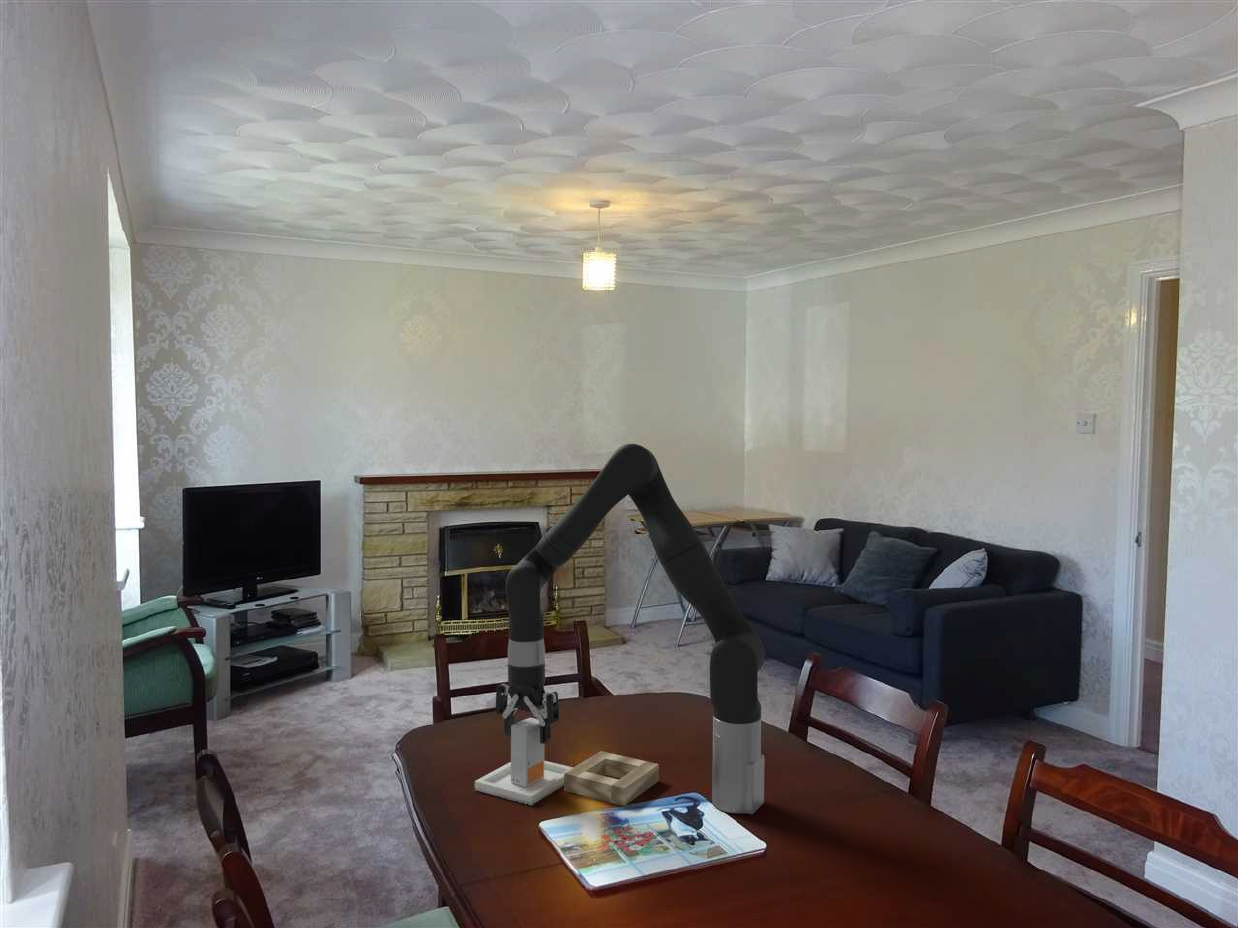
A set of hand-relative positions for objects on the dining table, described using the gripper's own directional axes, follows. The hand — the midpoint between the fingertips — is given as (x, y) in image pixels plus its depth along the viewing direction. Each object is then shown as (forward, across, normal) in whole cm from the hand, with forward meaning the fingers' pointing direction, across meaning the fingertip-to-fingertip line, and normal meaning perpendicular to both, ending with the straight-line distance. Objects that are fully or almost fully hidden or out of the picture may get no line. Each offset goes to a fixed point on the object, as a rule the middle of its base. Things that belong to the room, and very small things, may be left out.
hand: (527, 738), depth 178 cm
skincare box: (+9, 0, 0) cm, 9 cm away
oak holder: (+9, -15, -8) cm, 20 cm away
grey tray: (+9, 0, 0) cm, 9 cm away
